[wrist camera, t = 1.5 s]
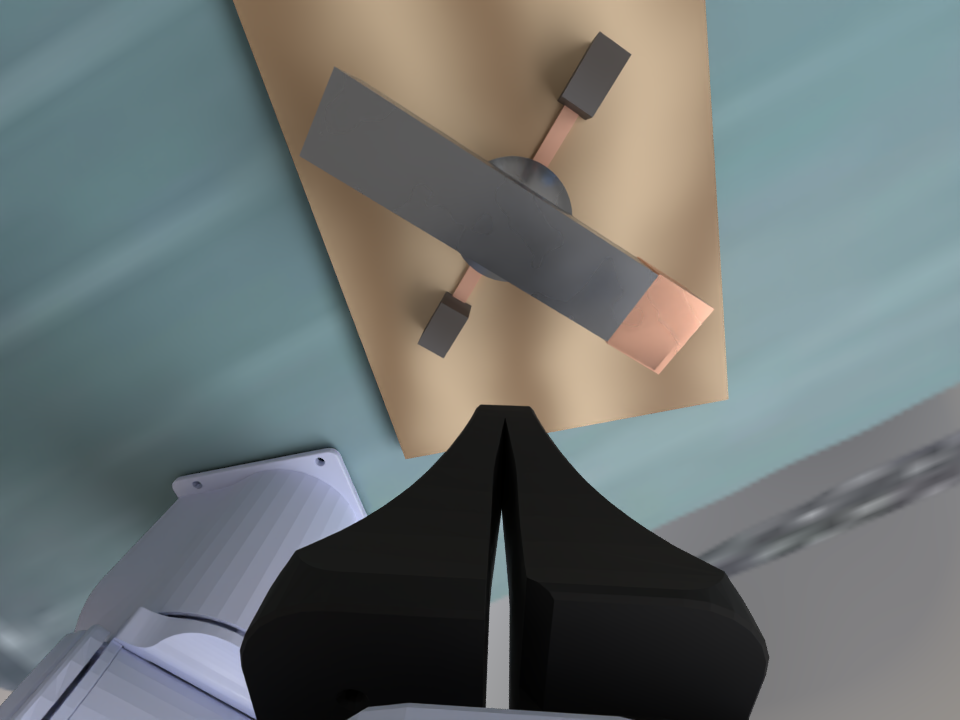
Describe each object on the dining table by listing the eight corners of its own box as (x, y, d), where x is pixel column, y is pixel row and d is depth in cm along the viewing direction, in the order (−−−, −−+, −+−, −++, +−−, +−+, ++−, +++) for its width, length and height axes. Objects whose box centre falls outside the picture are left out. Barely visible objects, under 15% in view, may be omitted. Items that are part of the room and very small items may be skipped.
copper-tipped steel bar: (333, 176, 17) (288, 182, 13) (383, 59, 15) (347, 33, 12) (618, 348, 18) (643, 392, 15) (687, 260, 17) (732, 287, 14)
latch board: (409, 447, 24) (398, 479, 22) (234, -29, 16) (188, -59, 14) (719, 388, 22) (745, 418, 19) (680, -192, 14) (715, -261, 12)
